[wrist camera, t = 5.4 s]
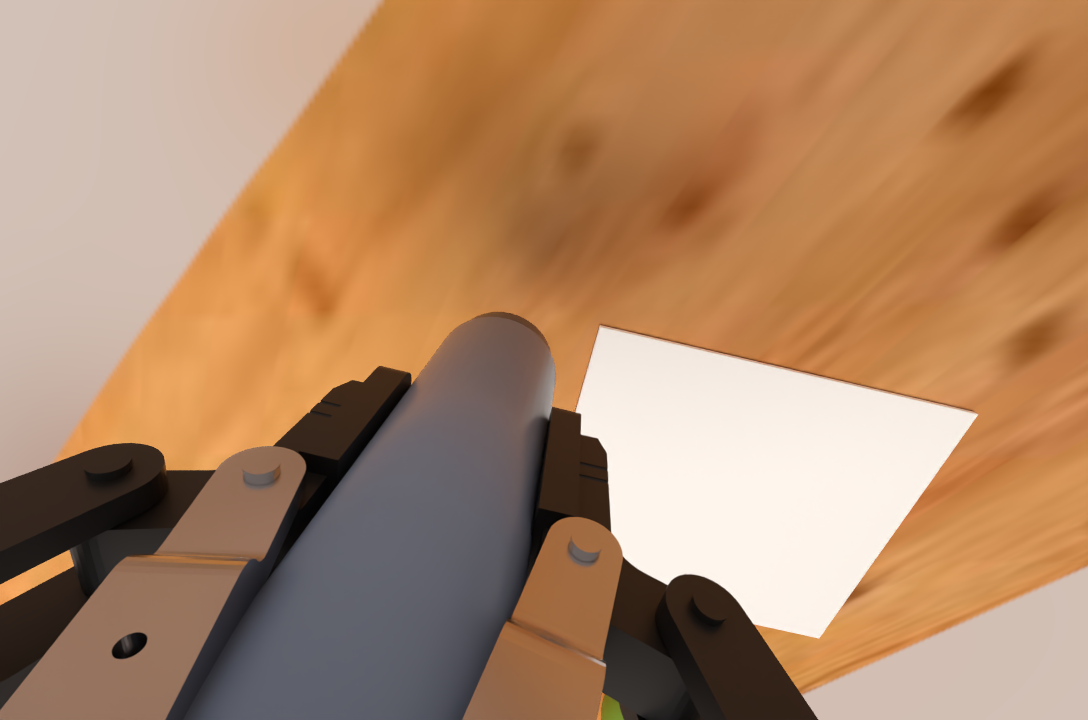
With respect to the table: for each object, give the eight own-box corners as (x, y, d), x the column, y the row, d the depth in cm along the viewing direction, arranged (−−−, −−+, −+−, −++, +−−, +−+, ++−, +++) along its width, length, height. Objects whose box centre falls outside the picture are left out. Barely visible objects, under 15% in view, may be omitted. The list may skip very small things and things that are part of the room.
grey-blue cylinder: (452, 291, 14) (-271, 1071, 2) (571, 320, 14) (479, 1230, 2) (438, 395, 16) (-34, 1176, 4) (545, 420, 16) (408, 1272, 4)
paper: (599, 324, 24) (600, 326, 24) (973, 411, 24) (978, 414, 24) (529, 571, 32) (529, 574, 31) (816, 634, 32) (819, 638, 32)
